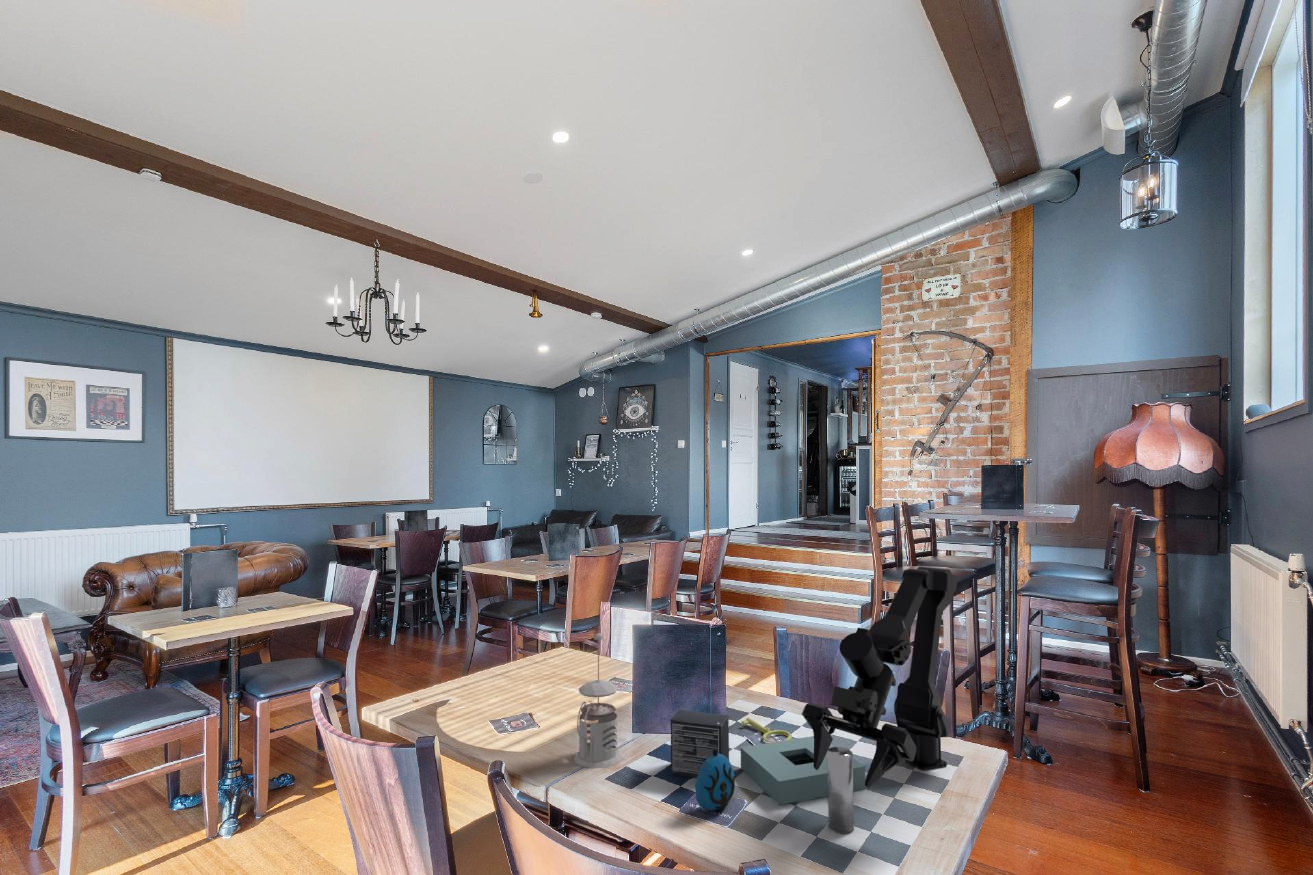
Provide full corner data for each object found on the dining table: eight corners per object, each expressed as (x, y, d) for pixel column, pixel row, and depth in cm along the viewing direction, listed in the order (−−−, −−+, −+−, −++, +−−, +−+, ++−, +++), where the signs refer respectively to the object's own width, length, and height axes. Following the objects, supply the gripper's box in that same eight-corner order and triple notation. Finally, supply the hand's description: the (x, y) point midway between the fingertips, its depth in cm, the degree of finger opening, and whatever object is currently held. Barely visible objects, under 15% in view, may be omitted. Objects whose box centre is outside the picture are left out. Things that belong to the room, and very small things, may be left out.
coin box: (819, 754, 132) (819, 735, 132) (865, 788, 118) (865, 766, 118) (740, 768, 126) (740, 747, 126) (779, 804, 112) (779, 781, 112)
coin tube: (844, 818, 108) (842, 745, 108) (859, 831, 104) (857, 755, 105) (823, 822, 106) (822, 748, 107) (838, 835, 103) (836, 758, 103)
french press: (630, 751, 134) (630, 630, 135) (602, 775, 123) (603, 643, 125) (589, 743, 138) (590, 625, 139) (559, 765, 127) (560, 638, 129)
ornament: (706, 822, 107) (706, 760, 107) (689, 810, 110) (688, 750, 111) (742, 807, 111) (742, 748, 112) (724, 796, 115) (724, 739, 116)
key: (746, 725, 149) (746, 716, 149) (795, 739, 141) (795, 729, 141) (730, 735, 143) (730, 725, 143) (780, 750, 136) (780, 740, 136)
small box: (730, 768, 126) (730, 713, 127) (723, 783, 120) (722, 725, 121) (679, 760, 130) (679, 707, 130) (669, 774, 124) (669, 718, 124)
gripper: (806, 656, 117) (772, 735, 108) (907, 679, 104) (878, 771, 95) (829, 690, 122) (798, 768, 113) (928, 716, 109) (901, 806, 100)
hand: (840, 777), depth 106 cm, fingers open, 9 cm apart
